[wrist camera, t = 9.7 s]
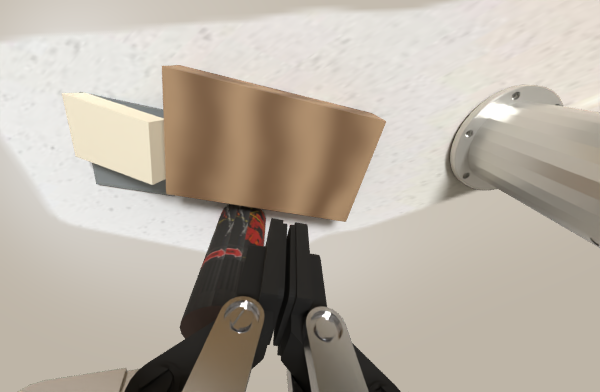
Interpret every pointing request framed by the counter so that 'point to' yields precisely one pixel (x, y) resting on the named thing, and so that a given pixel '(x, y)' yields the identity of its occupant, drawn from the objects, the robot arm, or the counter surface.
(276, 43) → the counter surface
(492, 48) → the counter surface
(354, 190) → the wood grain slab
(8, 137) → the counter surface
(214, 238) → the deodorant
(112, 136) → the cream foam block
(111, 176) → the mat
